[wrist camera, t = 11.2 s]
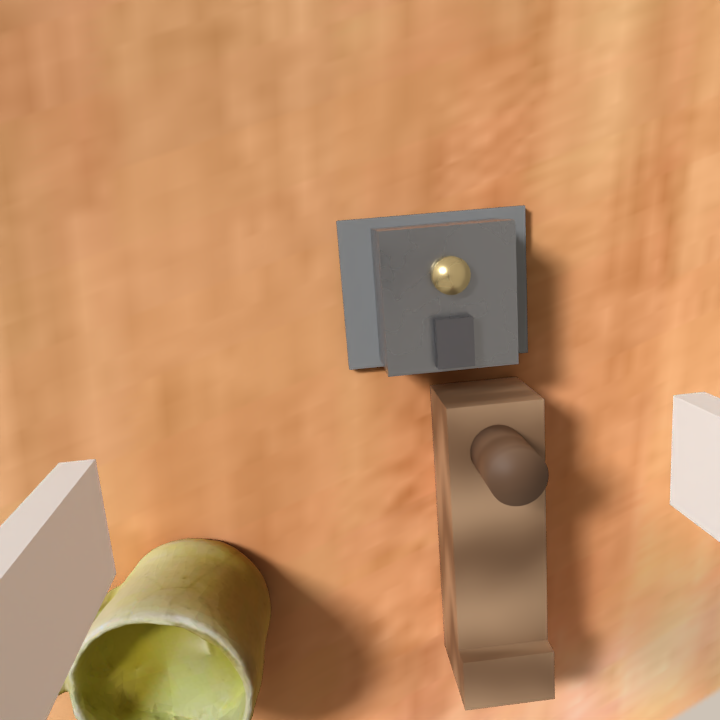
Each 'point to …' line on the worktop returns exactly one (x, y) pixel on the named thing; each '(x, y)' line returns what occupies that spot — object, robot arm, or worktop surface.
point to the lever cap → (446, 295)
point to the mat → (361, 279)
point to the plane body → (493, 539)
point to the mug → (176, 639)
